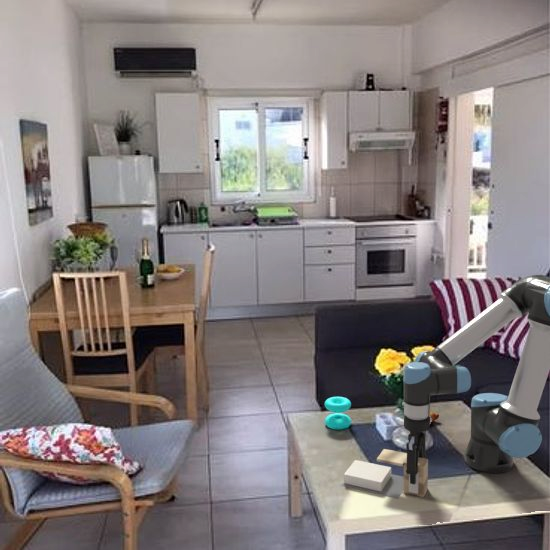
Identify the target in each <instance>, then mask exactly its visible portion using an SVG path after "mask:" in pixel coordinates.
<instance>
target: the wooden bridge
mask: <svg viewBox="0 0 550 550" xmlns="http://www.w3.org/2000/svg"><path fill="white" fill-rule="evenodd" d="M376 462H379V463H385V464H389V465H394V466H398V467H403V477H404V490H403V493H404V494H409V495H413V496H416V497H422V498H424V497H425V496H426V493H427V491H428V487H429V459H428V458H426V457H425V458H421V457H418V471H417V472H418V473H419V480H418V494H416V493H411V492H409V474H407V472H406V470H407V452H403V451H402V452H401V451H397V450H392V449H386V448H383V449H382V450H381V452H380V454H379V455H378V456H377V458H376Z"/></svg>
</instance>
